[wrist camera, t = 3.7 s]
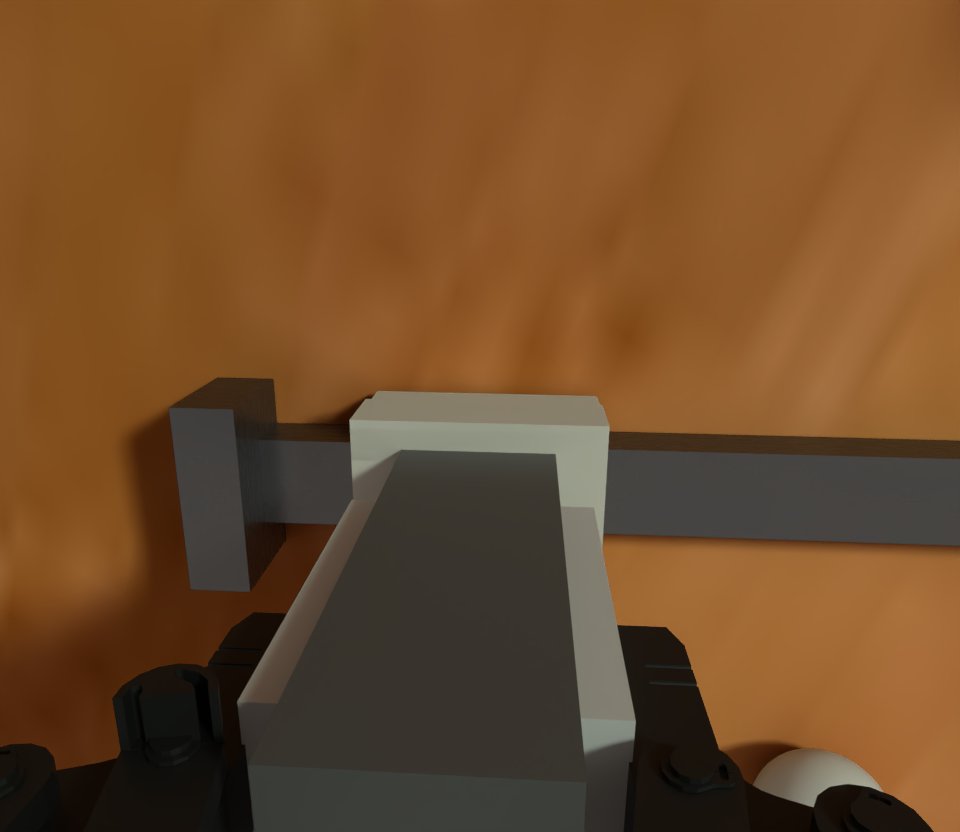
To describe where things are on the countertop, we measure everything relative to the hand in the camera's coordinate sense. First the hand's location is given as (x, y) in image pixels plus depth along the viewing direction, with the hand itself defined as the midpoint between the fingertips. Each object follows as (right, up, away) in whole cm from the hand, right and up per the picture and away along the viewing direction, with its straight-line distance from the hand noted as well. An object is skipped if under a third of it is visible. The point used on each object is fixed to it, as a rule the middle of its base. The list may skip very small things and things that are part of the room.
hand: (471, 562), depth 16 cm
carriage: (0, -3, +7) cm, 7 cm away
